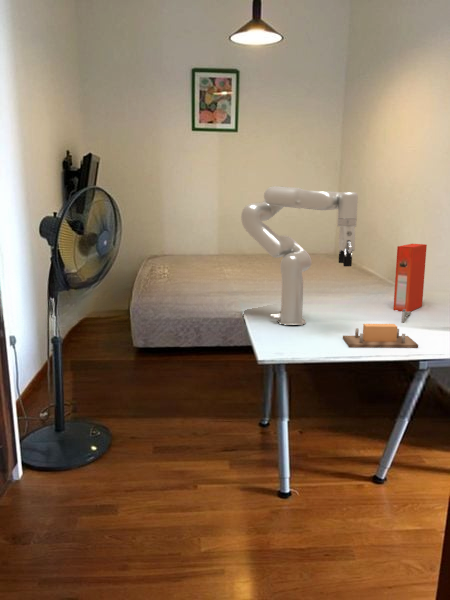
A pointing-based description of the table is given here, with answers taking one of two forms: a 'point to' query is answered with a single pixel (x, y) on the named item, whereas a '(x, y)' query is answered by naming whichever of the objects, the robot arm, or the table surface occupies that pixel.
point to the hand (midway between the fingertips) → (344, 264)
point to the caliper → (404, 315)
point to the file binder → (409, 277)
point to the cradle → (360, 343)
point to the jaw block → (380, 332)
